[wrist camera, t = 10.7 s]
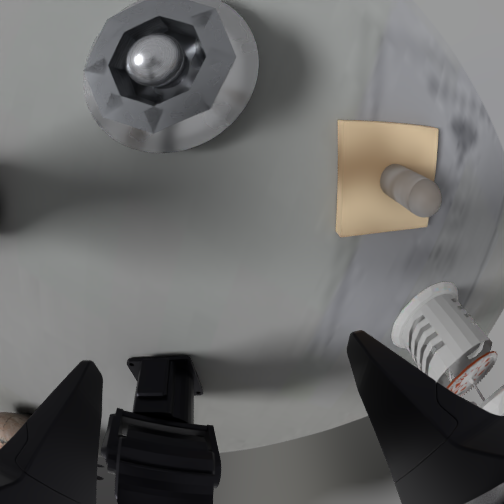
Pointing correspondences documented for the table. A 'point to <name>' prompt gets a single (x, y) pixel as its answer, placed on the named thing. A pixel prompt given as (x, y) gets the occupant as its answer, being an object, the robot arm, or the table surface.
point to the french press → (447, 342)
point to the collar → (148, 22)
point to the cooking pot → (10, 425)
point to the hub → (183, 84)
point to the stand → (385, 177)
